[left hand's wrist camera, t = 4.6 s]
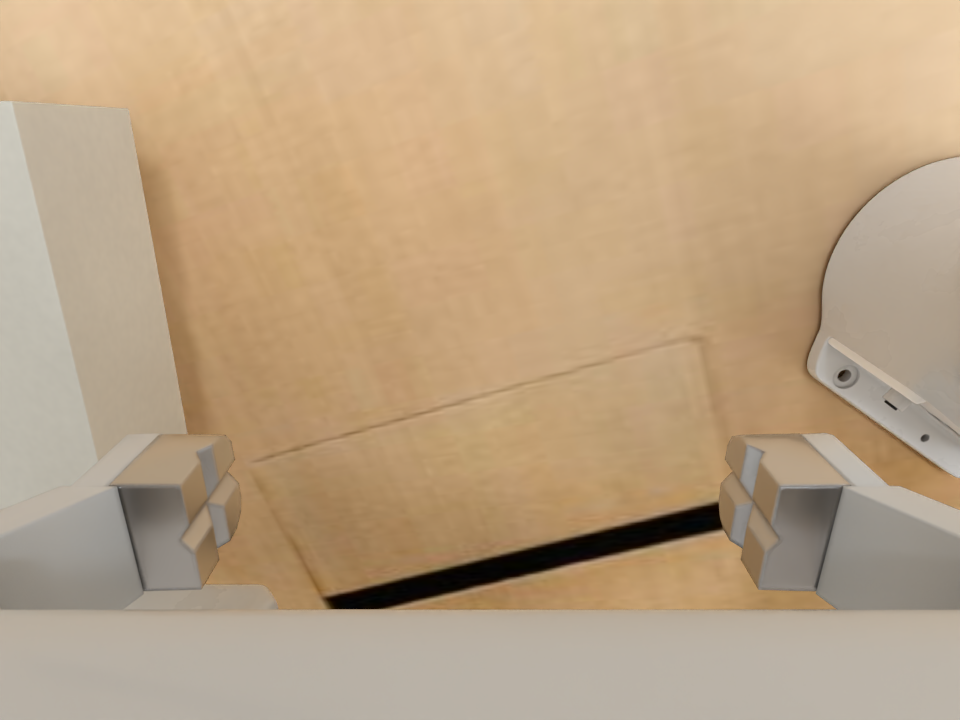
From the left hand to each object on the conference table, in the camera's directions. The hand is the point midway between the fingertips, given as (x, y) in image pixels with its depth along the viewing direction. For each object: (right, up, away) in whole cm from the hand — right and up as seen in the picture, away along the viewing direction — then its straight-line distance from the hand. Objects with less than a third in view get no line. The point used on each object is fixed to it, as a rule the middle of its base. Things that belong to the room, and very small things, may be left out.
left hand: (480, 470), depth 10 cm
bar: (-20, +1, +25) cm, 32 cm away
